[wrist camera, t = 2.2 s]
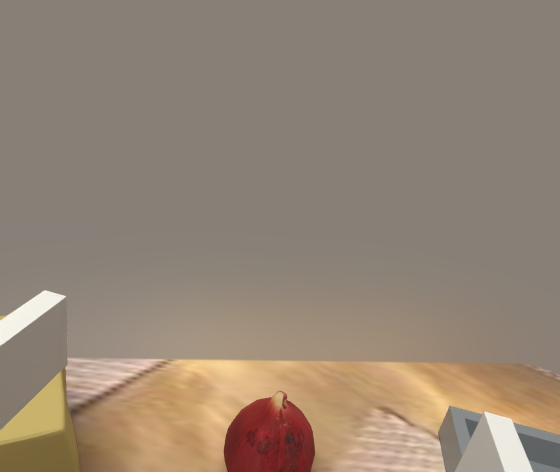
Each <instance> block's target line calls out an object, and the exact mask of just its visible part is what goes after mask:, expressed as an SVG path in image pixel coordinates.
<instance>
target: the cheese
mask: <svg viewBox="0 0 560 472" xmlns="http://www.w3.org/2000/svg"><path fill="white" fill-rule="evenodd" d="M5 317H6V316H0V320H2V319H3V318H5ZM0 472H80V467H79V454H78V447H77V441H76V436H75V431H74V427H73V423H72V419H71V416H70V412H69V408H68V404H67V400H66V371H65V367H64V368H63V369H62V370H61V371H60V372H59V373H58V374H57V375H56V376H55V377H54V378H53V379H52V380H51V381H50V382H49V383H48V384H47V385H46V386H45V387H44V388H43V389H42V390H41V391H40V392H39V393H38V394H37V395H36V396H35V397H34V398H33V399H32V400H31V401H30V402H29V403H28V404H27V405H26V406H25V407H24V408H23V409H22V410H21V411H20V412H19V413H17V414H16V415H15V416H14V417H13V418H12V419H11V420H10V421H9V422H8V423H7V424H6V425H5V426H4V427H3V428H2V429H1V430H0Z"/></svg>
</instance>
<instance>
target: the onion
mask: <svg viewBox="0 0 560 472" xmlns="http://www.w3.org/2000/svg"><path fill="white" fill-rule="evenodd" d="M314 455H315V447H314V438H313V431H312V428H311V426H310V424H309V422H308V421H307V419H306V417H305V416H304V414H303V413H302V411H301V410H300V409H299V408H297V407H296V406H295V405H294V404H293V403H291V402H290V401H287V394H286V393H284V392H282V391H278V392H277V393H276V394H275V395H274V396H272V397H270V398H264V399H259V400H256V401H255V402H253V403H251V404H250V405H248V406H246V407H245V408H244V409H242V410H241V411H240V412H239V414H238V415H237V416H236V418H235V419H234V420H233V422H232V423H231V425H230V426H229V428H228V431H227V434H226V439H225V446H224V458H225V463H226V467H227V471H228V472H310V470H311V467H312V464H313V460H314Z"/></svg>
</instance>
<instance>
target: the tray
mask: <svg viewBox="0 0 560 472" xmlns="http://www.w3.org/2000/svg"><path fill="white" fill-rule="evenodd" d="M481 417H482V414H478V413H475V412H471V411H467V410H463V409H460V408H456V407H452V406H449V409H448V411H447V413H446V416H445V418H444V421H443V423H442V425H441V428H440V430H439V432H438V433H439V438H440V443H441V448H442V454H443V459H444V464H445V469H446V472H455V470H456V468H457V466H458V464H459V462H460V460H461V458H462V456H463V454H464V452H465V450H466V448H467V445H468V443H469V441H470V439H471V437H472V435H473V433H474V431H475V429H476V427H477V425H478V423H479V421H480V419H481ZM513 424H514V427H515V429H516V432H517V434H518V436H519V439H520V441H521V444H522V446H523V448H524V451H525V453H526V456H527V458H528V460H529V463H530V465H531V468H532V470H533V472H560V435H558V434H554V433H550V432H546V431H542V430H539V429H535V428H531V427H527V426H524V425H520V424H516V423H513Z"/></svg>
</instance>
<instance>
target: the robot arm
mask: <svg viewBox="0 0 560 472" xmlns="http://www.w3.org/2000/svg"><path fill="white" fill-rule="evenodd" d="M66 366H67V297H66V296H63V295H59V294H56V293H52V292H48V291H43V292H42V293H40V294H39V295H37V296H36V297H34V298H33V299H31V300H30V301H29V302H27V303H26V304H24V305H23V306H21V307H20V308H18V309H17V310H15V311H14V312H12V313H11V314H9V315H8V316H6V317H5V318H3V319H2V320H0V430H1V429H2V428H3V427H4V426H5V425H6V424H7V423H8V422H9V421H10V420H11V419H12V418H13V417H14V416H15V415H16V414H17V413H19V412H20V411H21V410H22V409H23V408H24V407H25V406H26V405H27V404H28V403H29V402H30V401H31V400H32V399H33V398H34V397H35V396H36V395H37V394H38V393H39V392H40V391H41V390H42V389H43V388H44V387H45V386H46V385H47V384H48V383H49V382H50V381H51V380H52V379H53V378H54V377H55V376H56V375H57V374H58V373H59V372H60V371H61V370H62V369H63V368H64V367H66ZM455 472H533V470H532V468H531V465H530V463H529V460H528V458H527V456H526V453H525V451H524V448H523V446H522V444H521V441H520V439H519V436H518V434H517V432H516V429H515V427H514V424H513V422H512V420H511V419H509V418H506V417H502V416H499V415H495V414H491V413H488V412H484V413H483V415H482V417H481V419H480V421H479V423H478V425H477V427H476V429H475V431H474V433H473V435H472V437H471V439H470V441H469V443H468V445H467V448H466V450H465V452H464V454H463V456H462V458H461V460H460V462H459V464H458V466H457V468H456V470H455Z"/></svg>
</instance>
